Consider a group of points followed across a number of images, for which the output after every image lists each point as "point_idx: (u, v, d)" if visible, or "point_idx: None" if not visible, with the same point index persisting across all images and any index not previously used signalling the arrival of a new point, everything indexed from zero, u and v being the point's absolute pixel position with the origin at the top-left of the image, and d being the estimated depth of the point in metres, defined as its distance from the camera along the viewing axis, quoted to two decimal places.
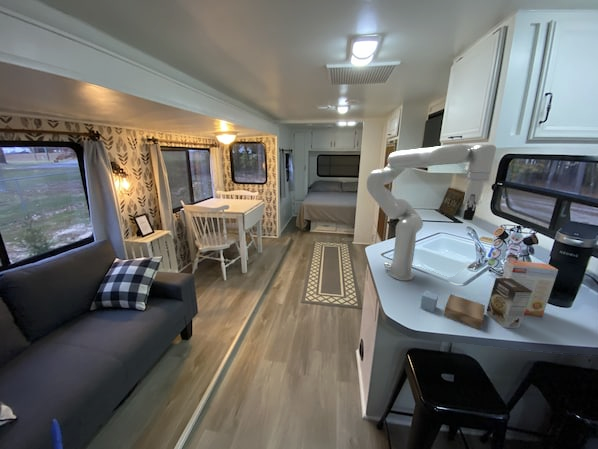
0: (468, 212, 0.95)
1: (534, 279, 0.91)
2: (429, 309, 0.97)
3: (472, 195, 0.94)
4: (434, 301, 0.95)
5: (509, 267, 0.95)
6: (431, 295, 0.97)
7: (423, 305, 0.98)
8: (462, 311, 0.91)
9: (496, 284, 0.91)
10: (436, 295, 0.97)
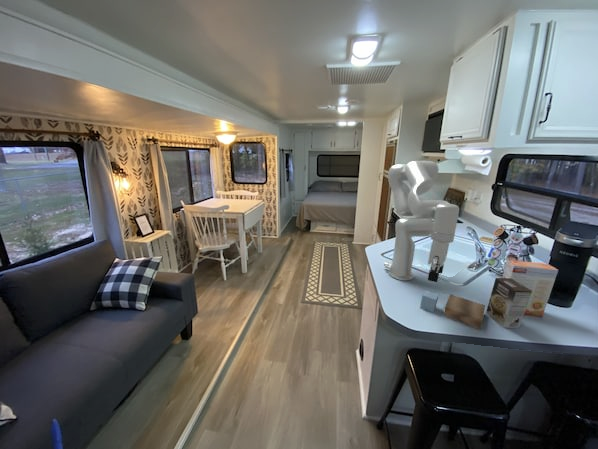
0: (432, 274, 0.90)
1: (534, 279, 0.91)
2: (429, 309, 0.97)
3: (436, 257, 0.88)
4: (434, 301, 0.95)
5: (509, 267, 0.95)
6: (431, 295, 0.97)
7: (423, 305, 0.98)
8: (462, 311, 0.91)
9: (496, 284, 0.91)
10: (436, 295, 0.97)
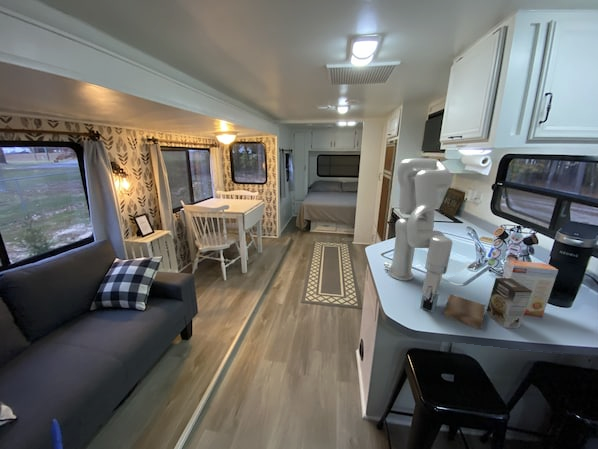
0: (426, 303, 0.96)
1: (534, 279, 0.91)
2: None
3: (429, 288, 0.93)
4: (434, 301, 0.95)
5: (509, 267, 0.95)
6: None
7: None
8: (462, 311, 0.91)
9: (496, 284, 0.91)
10: (436, 295, 0.97)
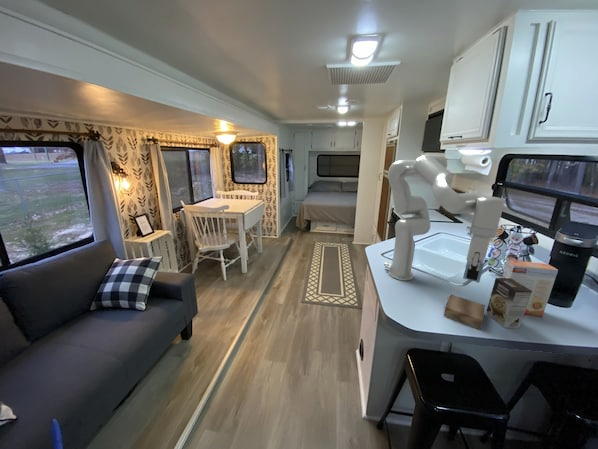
0: (471, 272, 0.87)
1: (534, 279, 0.91)
2: None
3: (476, 254, 0.84)
4: (481, 269, 0.86)
5: (509, 267, 0.95)
6: None
7: None
8: (462, 311, 0.91)
9: (496, 284, 0.91)
10: (481, 264, 0.88)
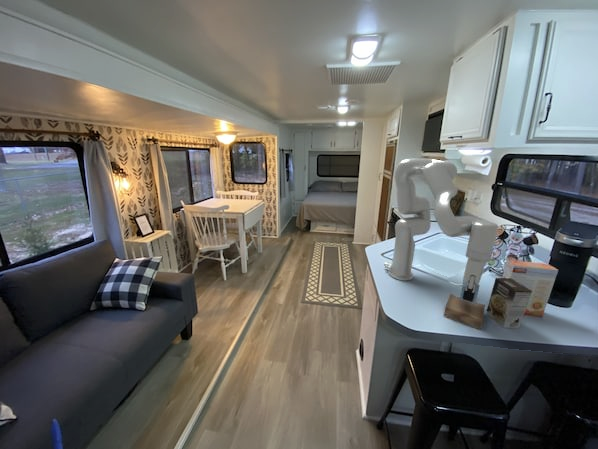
0: (467, 293, 0.89)
1: (534, 279, 0.91)
2: None
3: (472, 277, 0.86)
4: (476, 291, 0.88)
5: (509, 267, 0.95)
6: None
7: None
8: (462, 311, 0.91)
9: (496, 284, 0.91)
10: None
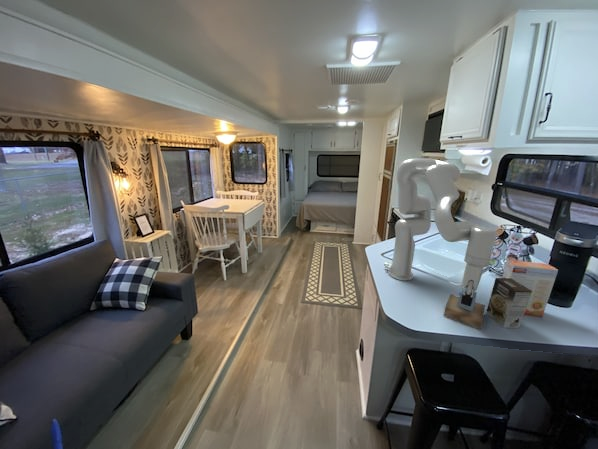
0: (466, 298, 0.88)
1: (534, 279, 0.91)
2: (467, 308, 0.91)
3: (471, 281, 0.86)
4: (473, 299, 0.89)
5: (509, 267, 0.95)
6: None
7: (460, 304, 0.93)
8: (462, 311, 0.91)
9: (496, 284, 0.91)
10: (474, 293, 0.92)
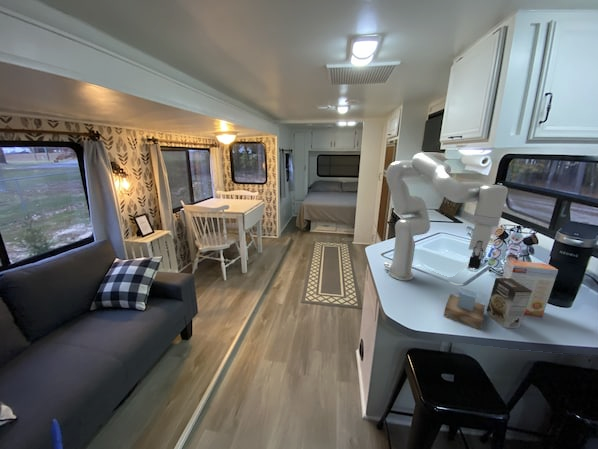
0: (474, 260, 0.84)
1: (534, 279, 0.91)
2: (467, 308, 0.91)
3: (479, 241, 0.83)
4: (473, 299, 0.89)
5: (509, 267, 0.95)
6: (469, 293, 0.92)
7: (460, 304, 0.93)
8: (462, 311, 0.91)
9: (496, 284, 0.91)
10: (474, 293, 0.92)
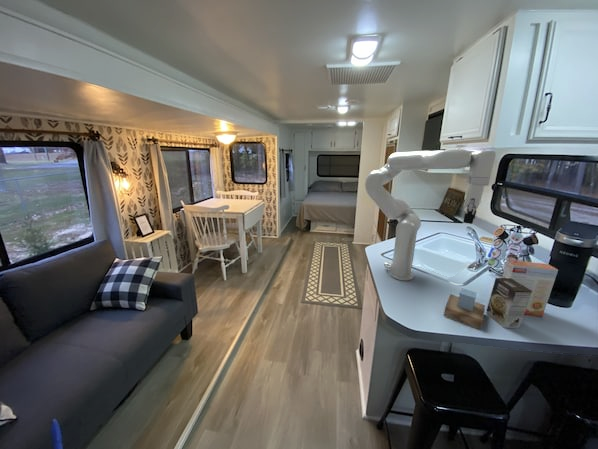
0: (468, 216, 0.98)
1: (534, 279, 0.91)
2: (467, 308, 0.91)
3: (472, 199, 0.96)
4: (473, 299, 0.89)
5: (509, 267, 0.95)
6: (469, 293, 0.92)
7: (460, 304, 0.93)
8: (462, 311, 0.91)
9: (496, 284, 0.91)
10: (474, 293, 0.92)
